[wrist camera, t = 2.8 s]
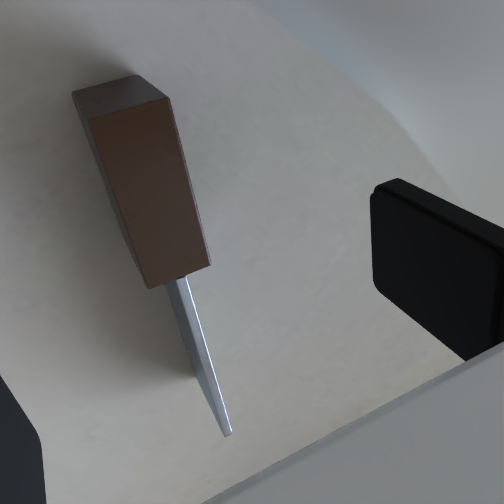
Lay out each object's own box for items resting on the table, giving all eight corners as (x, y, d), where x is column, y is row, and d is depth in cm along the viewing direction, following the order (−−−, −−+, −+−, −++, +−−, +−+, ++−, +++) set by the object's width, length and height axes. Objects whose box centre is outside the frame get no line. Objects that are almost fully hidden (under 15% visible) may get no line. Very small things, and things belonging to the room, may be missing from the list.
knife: (70, 91, 16) (86, 120, 13) (138, 73, 17) (169, 96, 14) (178, 386, 25) (204, 447, 21) (221, 367, 25) (252, 423, 22)
